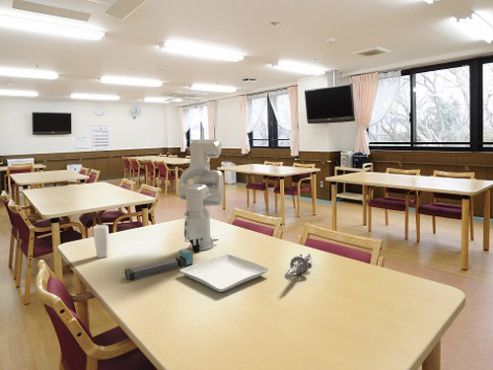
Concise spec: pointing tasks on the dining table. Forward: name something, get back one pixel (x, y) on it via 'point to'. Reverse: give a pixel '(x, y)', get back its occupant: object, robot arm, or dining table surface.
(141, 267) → the bar
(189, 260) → the teal rectangular block
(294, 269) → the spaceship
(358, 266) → the dining table surface
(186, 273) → the square plate
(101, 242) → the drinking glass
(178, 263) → the tongs frame
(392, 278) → the dining table surface
